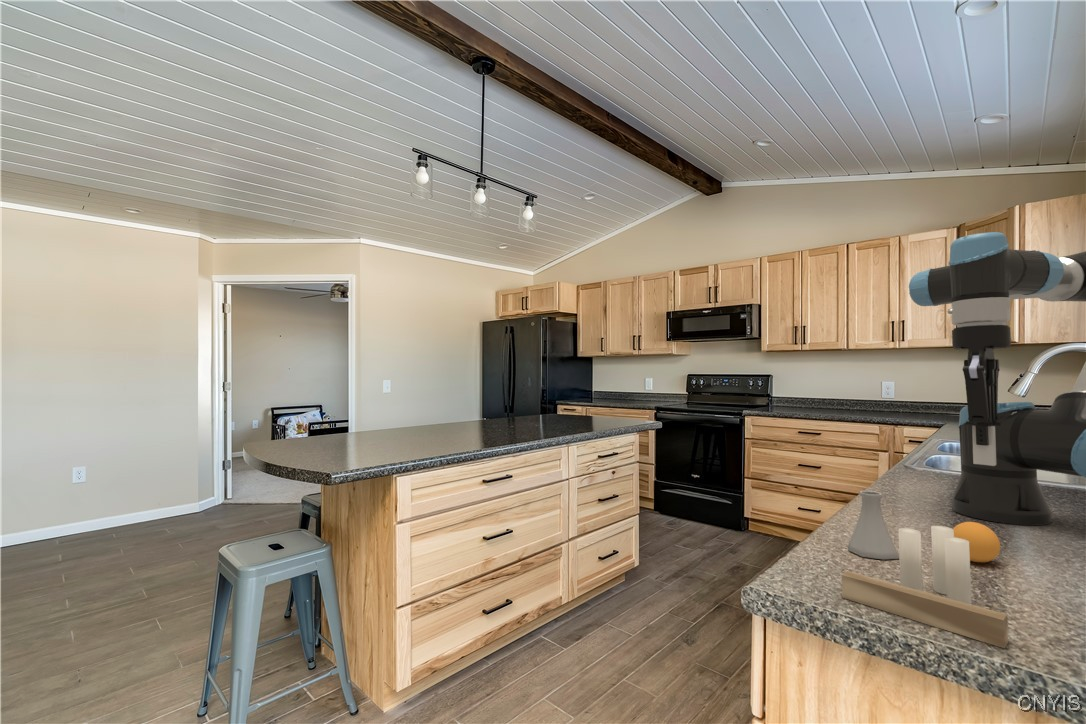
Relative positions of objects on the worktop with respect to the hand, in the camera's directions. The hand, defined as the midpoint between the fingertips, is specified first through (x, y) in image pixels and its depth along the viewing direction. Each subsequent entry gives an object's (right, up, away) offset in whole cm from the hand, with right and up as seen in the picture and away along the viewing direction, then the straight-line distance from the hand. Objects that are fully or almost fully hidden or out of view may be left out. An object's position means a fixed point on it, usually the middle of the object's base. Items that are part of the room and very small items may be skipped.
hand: (984, 464), depth 84 cm
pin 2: (-22, -14, -22) cm, 34 cm away
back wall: (-29, -14, -24) cm, 40 cm away
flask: (-20, -15, -2) cm, 25 cm away
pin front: (-20, -14, -17) cm, 30 cm away
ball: (-7, -11, -6) cm, 14 cm away
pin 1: (-25, -14, -18) cm, 34 cm away
